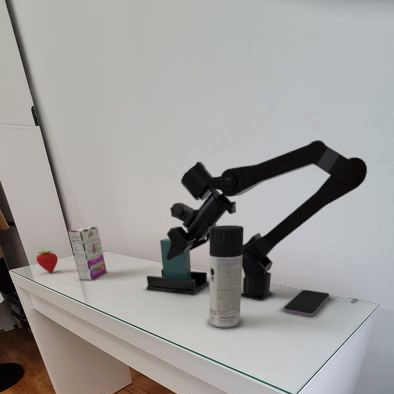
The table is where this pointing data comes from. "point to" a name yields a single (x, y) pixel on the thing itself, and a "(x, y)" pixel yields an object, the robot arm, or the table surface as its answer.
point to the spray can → (225, 275)
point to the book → (175, 262)
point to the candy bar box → (88, 252)
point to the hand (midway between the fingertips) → (175, 255)
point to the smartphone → (306, 303)
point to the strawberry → (47, 260)
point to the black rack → (178, 283)
